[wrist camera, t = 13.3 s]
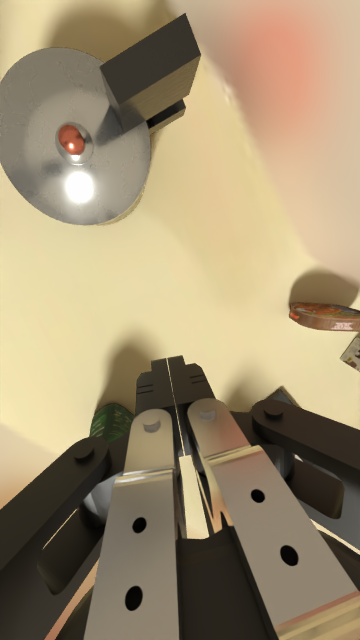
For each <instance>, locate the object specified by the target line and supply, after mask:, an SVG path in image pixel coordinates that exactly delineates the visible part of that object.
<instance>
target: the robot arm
mask: <svg viewBox="0 0 360 640" xmlns="http://www.w3.org/2000/svg"><path fill="white" fill-rule="evenodd" d="M167 359H168V365H169V371H170V376H169V371H168V365H167V360H166V358H164V359H159V360H153V361H151V366H152V371H151V372H146V373H141V375H140V376H139V378H138V379H137V389H136V394H137V395H136V414H135V419H134V420H133V422H132V425H131V428H130V430H129V431H128V432H126V433H125V434H124V435H122V436H121V437H119V438H117V439H115V440H113V441H110V442H108V443H107V442H106V441H105V440H104V439H103V438H101V437H96V436H95V437H88V438H84V439H82V440H80V441H78V442H76V443H75V444H73V445H72V446H71V447H70V448H69V449H67V450H66V451H65V452H64V453H63V454H62V455H61V456H60V457H59V458H57V459H56V460H55V461H54V462H53V463H52V464H51V465H50V466H49V467H47V468H46V469H45V470H44V471H43V472H42V473H41V474H40V475H39V476H37V477H36V478H35V479H34V480H33V481H32V482H31V483H30V484H28V485H27V486H26V487H25V488H24V489H23V490H22V491H21V492H20V493H18V494H17V495H16V496H15V497H14V498H13V499H12V500H11V501H10V502H8V503H7V504H6V505H5V506H4V507H3V508H2V509H1V510H0V640H44V639H45V638H46V636H47V634H48V633H49V632H50V630H51V629H52V627H53V626H54V624H55V623H56V621H57V620H58V618H59V617H60V615H61V614H62V612H63V611H64V609H65V608H66V606H67V605H68V603H69V602H70V600H71V599H72V597H73V596H74V594H75V593H76V591H77V590H78V589H79V587H80V586H81V584H82V583H83V581H84V580H85V578H86V577H87V575H88V574H89V572H90V571H91V569H92V568H93V566H94V565H95V563H96V562H97V560H98V559H99V564H98V568H97V573H96V579H95V584H94V585H93V587H92V588H91V589H90V590H89V591H88V592H87V593H86V594H85V596H84V597H83V598H82V599H81V601H80V602H79V603H78V605H77V606H76V607H75V609H74V610H73V612H72V613H71V615H70V616H69V618H68V619H67V621H66V623H65V624H64V626H63V628H62V629H61V631H60V632H59V634H58V636H57V637H56V639H55V640H360V555H359V554H357V553H356V552H354V551H353V550H351V549H350V548H348V547H347V546H346V545H344V544H343V543H341V542H340V541H338V540H337V539H335V538H333V537H331V536H330V535H328V534H326V533H324V532H322V531H320V530H317V529H316V527H315V526H314V524H313V523H312V521H311V520H310V519H312V520H313V521H315V522H316V523H318V524H320V525H321V526H323V527H324V528H326V529H327V530H329V531H330V532H332V533H334V534H335V535H337V536H338V537H340V538H341V539H343V540H344V541H346V542H348V543H349V544H351V545H352V546H354V547H355V548H357V549H358V550H360V430H358V429H356V428H353V427H350V426H348V425H345V424H342V423H339V422H337V421H334V420H331V419H329V418H326V417H323V416H320V415H318V414H315V413H312V412H309V411H307V410H304V409H301V408H299V407H296V406H293V405H290V404H288V403H285V402H282V401H279V400H273V399H266V400H261V401H259V402H257V403H256V404H254V406H253V407H252V411H251V413H242V412H233V411H229V410H228V409H227V407H226V405H225V404H224V403H223V402H221V401H219V400H217V399H216V398H215V396H214V394H213V392H212V389H211V387H210V385H209V383H208V381H207V378H206V376H205V374H204V372H203V370H202V368H201V367H200V366H198V365H197V364H195V363H193V364H188V365H185V362H184V359H183V356H182V355H181V356H175V357H170V358H167ZM170 377H171V381H170ZM171 383H172V386H171ZM172 389H173V391H172ZM173 395H174V396H173ZM174 400H175V401H174ZM175 405H176V407H175ZM176 410H177V413H176ZM177 415H178V419H177ZM178 420H179V425H180V431H181V436H182V441H183V446H184V451H185V456H186V455H191V457H192V461H193V465H194V467H195V469H196V474H197V478H198V481H199V484H200V487H201V490H202V494H203V497H204V500H205V503H206V506H207V509H208V513H209V516H210V519H211V522H212V525H213V529H214V534H213V535H211V536H210V537H208V538H206V539H187V531H186V519H185V507H184V495H183V483H182V475H181V469H180V463H179V457H181V456H184V455H183V449H182V443H181V437H180V431H179V425H178ZM295 455H297V456H299V457H301V458H303V459H305V460H307V461H309V462H311V463H313V464H315V465H317V466H319V467H321V468H323V469H325V470H327V471H329V472H331V473H333V474H334V475H336V476H337V477H338V478H339V479H340V480H341V481H340V480H338V479H336V478H334V477H332V476H330V475H328V474H326V473H324V472H322V471H320V470H318V469H316V468H314V467H312V466H310V465H308V464H306V463H304V462H302V461H301V460H299V459H297V458H295ZM76 509H77V510H76ZM75 510H76V511H75ZM74 511H75V513H74V514H73V515H72V516H71V517H70V515H71V514H72V513H73V512H74ZM69 517H70V518H69ZM68 518H69V520H68V521H67V522H66V523H65V524H64V526H63V527H62V528H61V529H60V530H59V531H58V532H57V530H58V529H59V528H60V527H61V526H62V525H63V523H64V522H65V521H66V520H67V519H68ZM56 532H57V534H56V535H55V536H54V537H53V538H52V539H51V537H52V536H53V535H54V534H55V533H56ZM50 539H51V541H50V542H49V543H48V544H47V545H46V546H45V544H46V543H47V542H48V541H49V540H50ZM44 546H45V548H44V549H43V547H44ZM42 549H43V550H42ZM99 557H100V558H99Z"/></svg>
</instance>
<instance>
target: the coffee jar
mask: <svg viewBox="0 0 360 640" xmlns="http://www.w3.org/2000/svg"><path fill="white" fill-rule="evenodd" d="M134 419H135V416H134V415H133V414H132V413H130V412H129V411H128V410H127V409H125V408H124V407H122V406H120V405H118V404H109V405H106V406H105V407H103V408H102V409H100V410H99V411H98V412H97V413H96V414H95V415H94V417H93V419H92V423H91V428H90V435H89V437H95V436H96V437H101V438H103V439H104V440H105V441H106V442H107V443H108V442H110V441H113V440H115V439H117V438H119V437H121V436H122V435H124V434H125V433H126V432H128V431H129V430H130V428H131V425H132V422H133V420H134Z"/></svg>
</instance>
